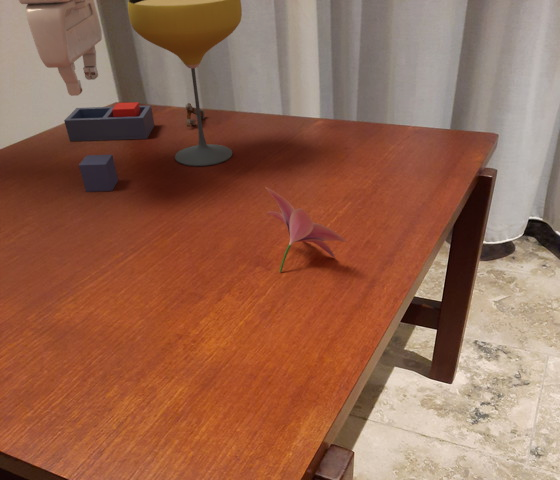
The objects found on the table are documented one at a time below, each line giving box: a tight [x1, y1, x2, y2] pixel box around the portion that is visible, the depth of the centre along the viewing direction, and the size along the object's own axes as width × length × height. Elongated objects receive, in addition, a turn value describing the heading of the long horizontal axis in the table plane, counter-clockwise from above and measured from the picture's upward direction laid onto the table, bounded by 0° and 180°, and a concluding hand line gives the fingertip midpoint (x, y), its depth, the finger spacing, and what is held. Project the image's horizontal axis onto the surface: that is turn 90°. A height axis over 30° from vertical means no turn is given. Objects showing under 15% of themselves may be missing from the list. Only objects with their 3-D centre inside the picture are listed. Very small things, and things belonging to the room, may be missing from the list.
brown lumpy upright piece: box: [185, 102, 205, 128], centre depth 118 cm, size 2×8×4 cm, turn 167°
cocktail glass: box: [127, 0, 243, 167], centre depth 96 cm, size 18×18×25 cm
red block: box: [112, 101, 141, 117], centre depth 114 cm, size 4×4×4 cm
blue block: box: [78, 154, 119, 193], centre depth 94 cm, size 4×4×4 cm
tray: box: [63, 104, 155, 142], centre depth 115 cm, size 8×16×4 cm, turn 89°
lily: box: [264, 186, 348, 273], centre depth 71 cm, size 12×12×10 cm
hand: (84, 86), depth 88 cm, fingers open, 8 cm apart
